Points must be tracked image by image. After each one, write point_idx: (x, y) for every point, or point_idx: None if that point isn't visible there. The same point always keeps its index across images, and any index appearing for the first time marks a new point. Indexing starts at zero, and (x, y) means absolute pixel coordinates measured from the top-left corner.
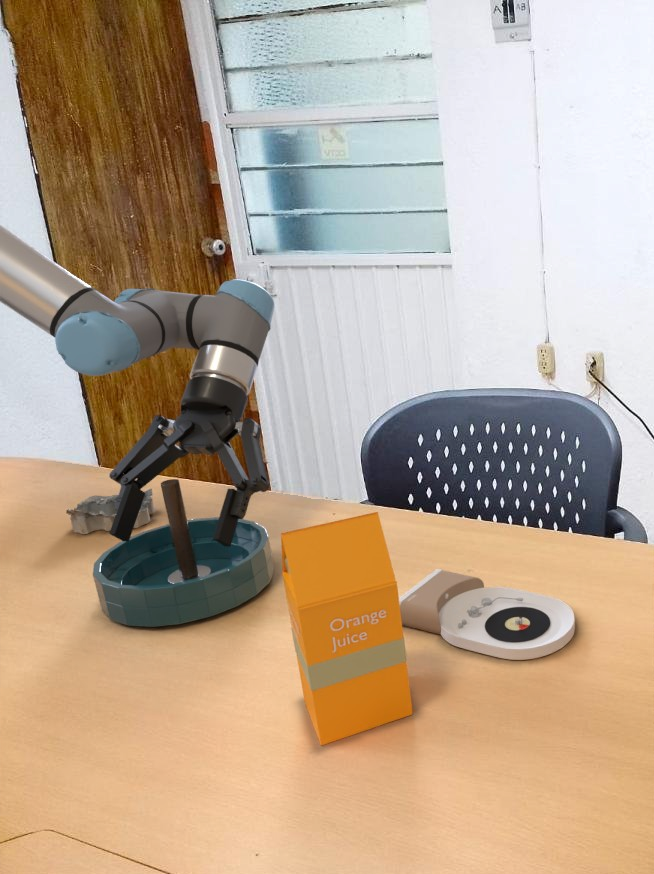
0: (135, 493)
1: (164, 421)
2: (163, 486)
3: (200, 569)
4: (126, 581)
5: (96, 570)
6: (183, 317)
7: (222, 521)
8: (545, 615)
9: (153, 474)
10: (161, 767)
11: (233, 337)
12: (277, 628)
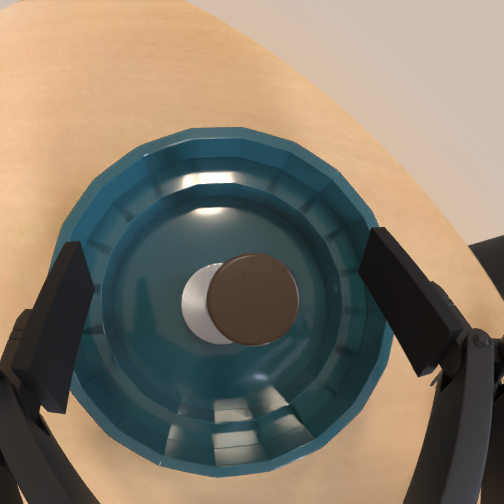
0: (427, 336)
1: None
2: (258, 253)
3: (212, 326)
4: (324, 255)
5: (344, 185)
6: None
7: (52, 275)
8: None
9: (434, 422)
10: (64, 24)
11: None
12: (21, 211)
